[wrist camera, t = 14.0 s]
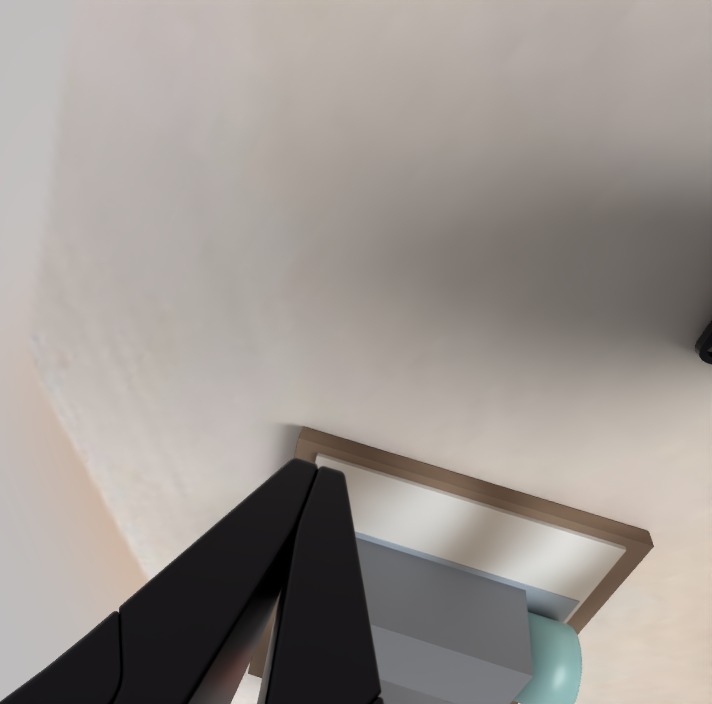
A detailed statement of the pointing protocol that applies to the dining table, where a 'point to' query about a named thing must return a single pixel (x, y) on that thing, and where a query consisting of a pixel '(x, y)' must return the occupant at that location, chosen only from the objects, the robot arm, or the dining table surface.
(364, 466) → the picture frame
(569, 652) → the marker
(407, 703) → the button housing
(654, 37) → the dining table surface
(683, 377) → the dining table surface
